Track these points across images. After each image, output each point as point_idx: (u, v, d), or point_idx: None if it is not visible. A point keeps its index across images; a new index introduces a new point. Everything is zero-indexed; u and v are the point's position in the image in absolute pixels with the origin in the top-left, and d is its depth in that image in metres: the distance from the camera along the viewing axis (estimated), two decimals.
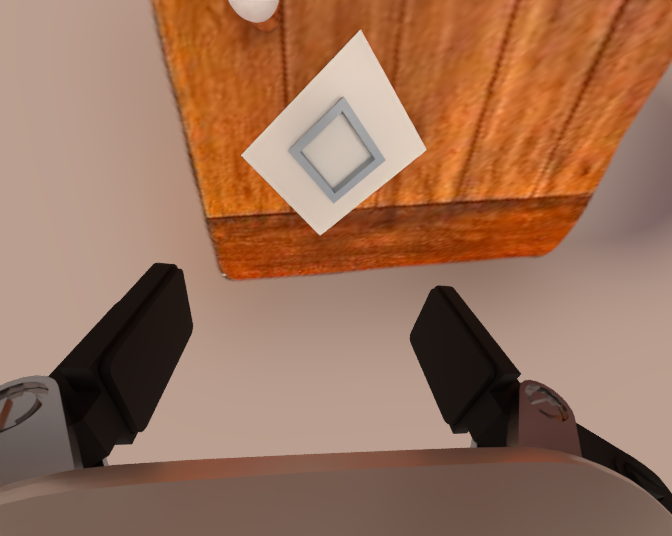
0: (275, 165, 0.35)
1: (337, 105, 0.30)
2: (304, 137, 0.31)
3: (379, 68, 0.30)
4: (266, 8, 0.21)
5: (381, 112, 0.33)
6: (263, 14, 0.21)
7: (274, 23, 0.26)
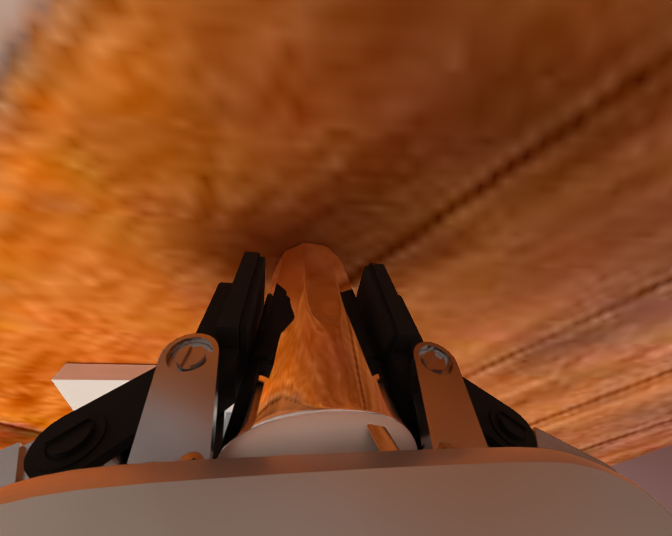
0: None
1: None
2: None
3: None
4: None
5: None
6: None
7: None
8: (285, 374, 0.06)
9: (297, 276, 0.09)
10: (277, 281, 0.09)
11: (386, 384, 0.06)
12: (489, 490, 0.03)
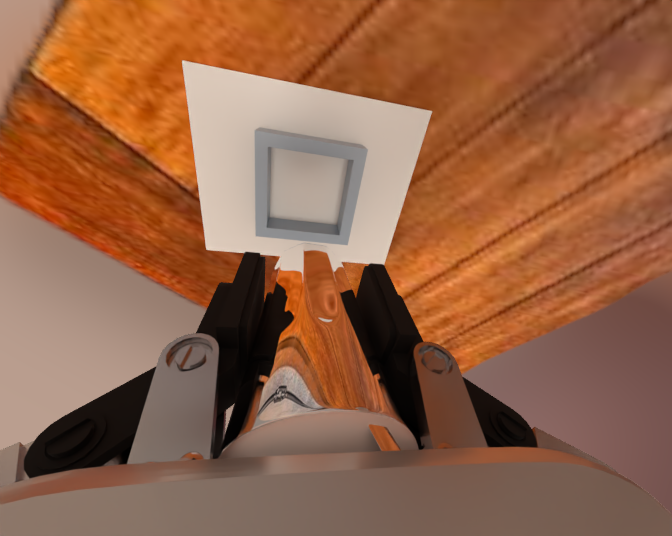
0: (221, 125, 0.21)
1: (354, 149, 0.21)
2: (289, 138, 0.20)
3: (413, 161, 0.24)
4: None
5: (380, 198, 0.26)
6: None
7: None
8: (285, 375, 0.06)
9: (297, 276, 0.09)
10: (276, 281, 0.09)
11: (387, 384, 0.06)
12: (489, 490, 0.03)
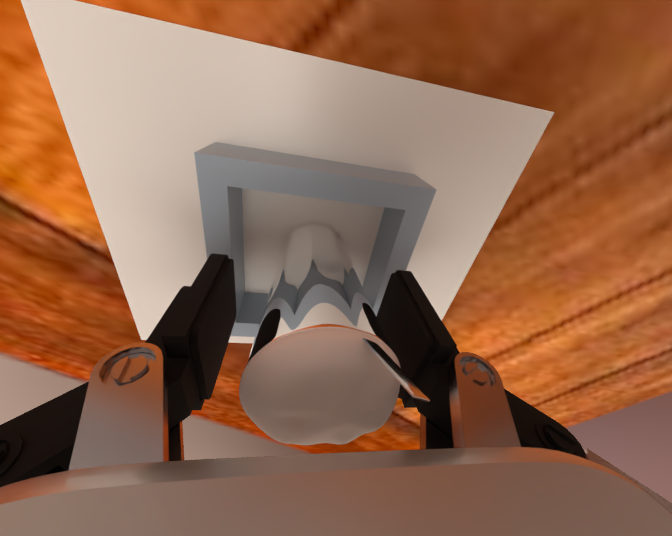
0: (137, 137, 0.10)
1: (409, 189, 0.10)
2: (273, 169, 0.09)
3: (501, 202, 0.14)
4: None
5: (434, 260, 0.15)
6: None
7: None
8: (299, 307, 0.07)
9: (305, 247, 0.11)
10: (287, 251, 0.11)
11: (378, 323, 0.08)
12: (489, 490, 0.03)
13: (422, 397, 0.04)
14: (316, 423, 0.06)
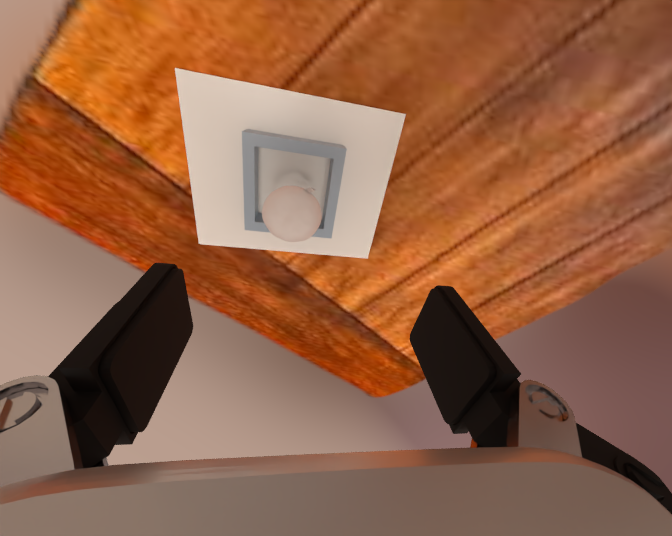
0: (212, 126, 0.23)
1: (334, 148, 0.23)
2: (274, 138, 0.22)
3: (391, 160, 0.26)
4: (287, 240, 0.20)
5: (361, 194, 0.28)
6: (282, 238, 0.20)
7: None
8: (283, 184, 0.20)
9: (288, 176, 0.23)
10: (280, 179, 0.24)
11: (313, 194, 0.20)
12: (489, 490, 0.03)
13: (312, 188, 0.17)
14: (288, 220, 0.19)
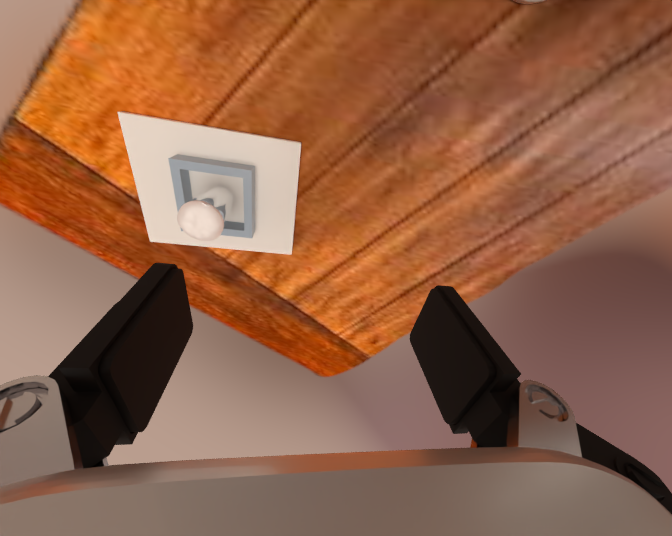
0: (150, 152, 0.30)
1: (241, 170, 0.30)
2: (193, 163, 0.29)
3: (296, 177, 0.33)
4: (199, 239, 0.28)
5: (277, 203, 0.35)
6: (195, 238, 0.28)
7: None
8: (193, 199, 0.27)
9: (208, 190, 0.31)
10: (203, 193, 0.31)
11: (218, 206, 0.28)
12: (489, 490, 0.03)
13: (204, 203, 0.24)
14: (195, 225, 0.26)
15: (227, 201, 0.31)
